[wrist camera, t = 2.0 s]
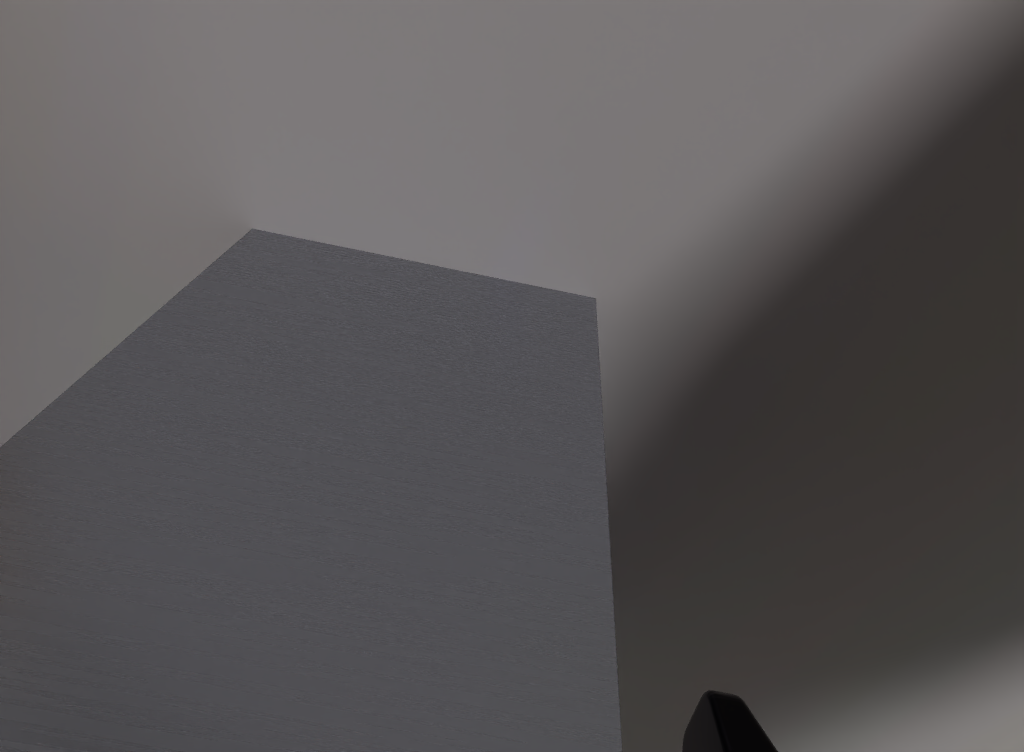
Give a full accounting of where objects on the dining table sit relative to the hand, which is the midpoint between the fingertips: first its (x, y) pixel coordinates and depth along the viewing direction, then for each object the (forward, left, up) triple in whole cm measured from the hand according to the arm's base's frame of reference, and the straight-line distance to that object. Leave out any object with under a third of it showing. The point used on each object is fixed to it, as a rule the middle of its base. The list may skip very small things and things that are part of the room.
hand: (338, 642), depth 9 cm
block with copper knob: (0, 0, -4) cm, 4 cm away
